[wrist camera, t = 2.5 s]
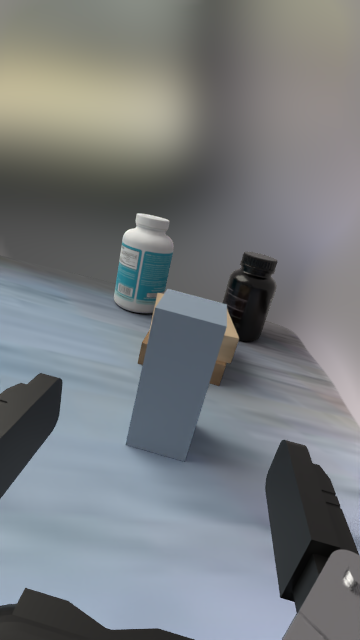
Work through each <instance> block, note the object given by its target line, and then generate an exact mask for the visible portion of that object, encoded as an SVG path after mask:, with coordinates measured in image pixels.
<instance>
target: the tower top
mask: <svg viewBox="0 0 360 640" xmlns="http://www.w3.org/2000/svg"><path fill="white" fill-rule="evenodd" d="M163 295H164V294H162V293H157V297H156V302H155V306H154V311H155V307H156V306H157V304H158V303H159V301H160V300H161V298H162V297H163ZM154 311H153V316H154ZM153 316H152V320H153ZM151 325H152V321H151ZM150 330H151V327H150ZM149 334H150V332H149ZM148 339H149V337H148ZM238 340H239V337H238V334H237V332H236V330H235V327H234V325H233V322H232V320H231V317H230V315H229V313H228V310H227V328H226V331H225V334H224V337H223V341H222V344H221V347H220V350H219V353H218V357H217V361H222V362H226V363H231V361H232V358H233V355H234V352H235V349H236V346H237V343H238ZM147 344H148V343H147Z"/></svg>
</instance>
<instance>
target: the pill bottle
mask: <svg viewBox="0 0 360 640" xmlns="http://www.w3.org/2000/svg"><path fill="white" fill-rule="evenodd" d="M136 225H137V226H136V228H135V229H130V230H128V231H126V232H125V234H124V236H123V241H122V248H121V254H120V260H119V267H118V274H117V281H116V287H115V294H114V300H115V302H116V304H117V305H119V306H120V307H122V308H123V309H126V310H129V311H132V312H137V313H153V311H154V306H155V302H156V297H157V293H162V294H164V292H165V287H166V281H167V277H168V273H169V268H170V263H171V258H172V254H173V249H174V244H173V241H172V240H171V239H170V238H169V237H168V236H167V235H166V233H165V232H166V231H167V229H168V226H169V220H167V219H164V218H160V217H156V216H152V215H146V214H137V216H136Z"/></svg>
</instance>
